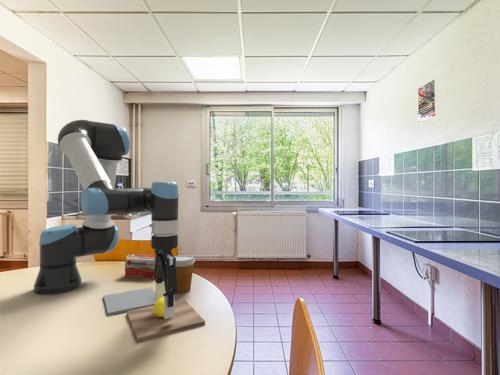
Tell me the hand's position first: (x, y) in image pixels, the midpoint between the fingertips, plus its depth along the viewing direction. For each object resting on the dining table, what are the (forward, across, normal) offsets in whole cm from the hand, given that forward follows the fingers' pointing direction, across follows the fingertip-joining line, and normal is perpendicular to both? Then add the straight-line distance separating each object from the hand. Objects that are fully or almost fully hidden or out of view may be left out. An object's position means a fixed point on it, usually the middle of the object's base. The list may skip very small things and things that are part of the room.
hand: (164, 310), depth 84 cm
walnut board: (+3, 0, 0) cm, 3 cm away
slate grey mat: (+3, -19, -6) cm, 20 cm away
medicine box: (+3, -47, +4) cm, 47 cm away
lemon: (+2, 0, 0) cm, 2 cm away
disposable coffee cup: (+3, -21, +12) cm, 24 cm away
